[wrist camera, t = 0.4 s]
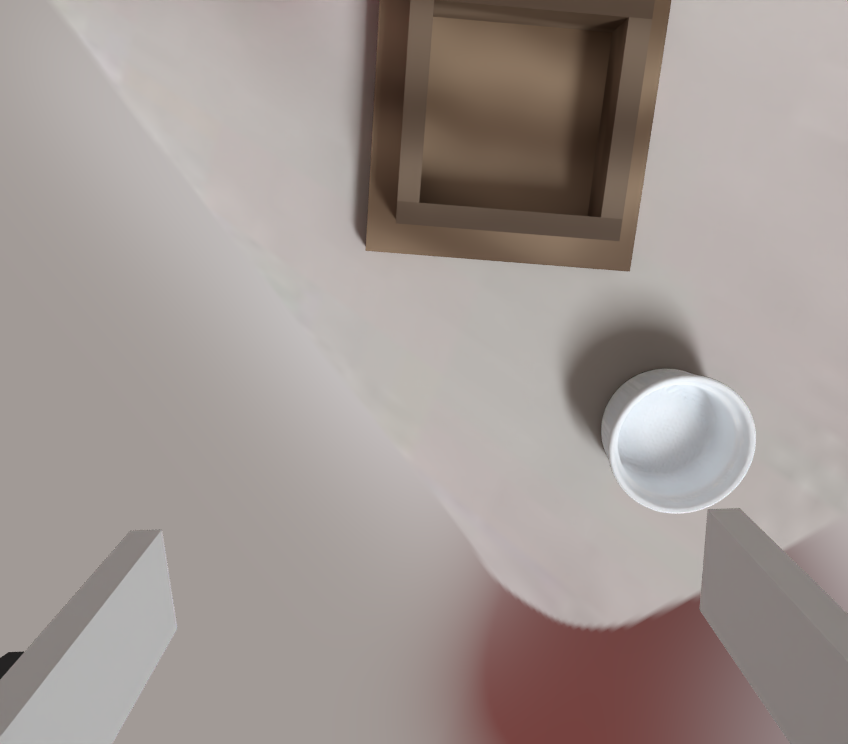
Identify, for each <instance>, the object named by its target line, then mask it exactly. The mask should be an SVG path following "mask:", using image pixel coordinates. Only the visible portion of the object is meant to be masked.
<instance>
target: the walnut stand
mask: <svg viewBox="0 0 848 744" xmlns="http://www.w3.org/2000/svg"><path fill="white" fill-rule="evenodd" d="M670 5H671V0H379V18H378V36H377V54H376V72H375V90H374V108H373V126H372V144H371V162H370V179H369V197H368V215H367V233H366V251H377V252H390V253H402V254H415V255H428V256H440V257H453V258H466V259H478V260H491V261H504V262H516V263H529V264H542V265H554V266H567V267H580V268H592V269H605V270H618V271H630V266H631V260H632V253H633V247H634V240H635V234H636V227H637V221H638V214H639V208H640V201H641V195H642V188H643V182H644V175H645V169H646V162H647V156H648V149H649V143H650V136H651V129H652V123H653V116H654V110H655V103H656V97H657V90H658V84H659V77H660V71H661V64H662V58H663V51H664V45H665V38H666V32H667V25H668V19H669V12H670Z"/></svg>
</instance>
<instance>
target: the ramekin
mask: <svg viewBox="0 0 848 744" xmlns="http://www.w3.org/2000/svg"><path fill="white" fill-rule="evenodd" d="M601 436H602V443H603V446H604V450H605V452H606V454H607V457H608V459H609V463H610V467H611V470H612V473H613V475H614V477H615V479H616V481H617V482H618V484H619V485H620V487H621V488H622V489H623V490H624V491H625V493H627V494H628V495H629V496H630V497H631V498H632V499H633V500H635V501H636V502H638V503H639V504H641V505H643V506H645V507H647V508H650V509H652V510H655V511H659V512H665V513H677V514H678V513H689V512H695V511H698V510H702V509H704V508H707V507H709V506H711V505H713V504H716V503H717V502H719V501H720V500H722V499H723V498H725V497H726V496H727V495H728V494H730V493H731V492H732V491H733V490H734V489H735V488H736V487H737V486H738V485H739V483H740V482H741V481H742V479H743V478H744V476H745V475H746V473H747V471H748V469H749V467H750V465H751V462H752V459H753V456H754V452H755V445H756V430H755V425H754V421H753V418H752V415H751V412H750V410H749V408H748V406H747V405H746V403H745V402H744V401H743V399H742V398H741V397H740V396H739V395H738V394H737V393H736V392H735V391H734V390H733V389H731V388H730V387H728V386H727V385H725V384H724V383H722V382H720V381H717V380H715V379H712V378H709V377H705V376H700V375H695V374H692V373H689V372H686V371H682V370H677V369H655V370H651V371H647V372H644V373H641V374H638V375H636V376H635V377H633V378H631V379H629V380H628V381H627V382H625V383H624V384H623V385H622V386H621V387H620V388H618V390H617V391H616V392H615V393H614V394H613V396H612V397H611V399H610V400H609V402H608V404H607V406H606V408H605V411H604V414H603V419H602V424H601Z"/></svg>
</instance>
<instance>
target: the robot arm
mask: <svg viewBox="0 0 848 744" xmlns="http://www.w3.org/2000/svg"><path fill="white" fill-rule="evenodd" d="M700 611H701V612H702V614H703V615H704V617H705V618H706V620H707V621H708V623H709V624H710V626H711V627H712V629H713V630H714V632H715V633H716V635H717V636H718V638H719V639H720V641H721V642H722V643H723V645H724V646H725V648H726V649H727V651H728V652H729V654H730V655H731V657H732V658H733V660H734V661H735V663H736V664H737V666H738V667H739V669H740V670H741V672H742V673H743V675H744V676H745V677H746V679H747V681H748V682H749V684H750V685H751V686H752V688H753V689H754V691H755V692H756V694H757V695H758V697H759V698H760V700H761V701H762V703H763V704H764V706H765V707H766V709H767V710H768V712H769V713H770V715H771V716H772V718H773V719H774V721H775V722H776V723H777V725H778V726H779V728H780V729H781V731H782V732H783V734H784V735H785V737H786V738H787V740H788V741H789V743H790V744H848V613H847V612H846V611H844V610H843V609H842V608H841V607H840V606H839V605H838V604H837V603H836V602H835V601H834V600H833V599H832V598H831V597H830V596H829V595H828V594H827V593H826V592H825V591H824V590H823V589H822V588H821V587H820V586H819V585H818V584H817V583H816V582H815V581H814V580H813V579H812V578H811V577H810V576H809V575H808V574H807V573H806V572H805V571H803V570H802V569H801V568H800V567H799V566H798V565H797V564H796V563H795V562H794V561H793V560H792V559H791V558H790V557H789V556H788V555H787V554H786V553H785V552H784V551H783V550H782V549H781V548H780V547H779V546H778V545H777V544H776V543H775V542H774V541H773V540H772V539H771V538H770V537H769V536H768V535H767V534H766V533H765V532H764V531H762V530H761V529H760V528H759V527H758V526H757V525H756V524H755V523H754V522H753V521H752V520H751V519H750V518H749V517H748V516H747V515H746V514H745V513H744V512H743V511H742V510H741V509H740V508H731V509H708V511H707V523H706V536H705V548H704V561H703V573H702V586H701V598H700ZM176 630H177V623H176V616H175V610H174V603H173V597H172V590H171V584H170V578H169V571H168V565H167V558H166V552H165V546H164V540H163V533H162V530H135V531H130V532H129V533H128V534H127V535H126V536H125V537H124V538H123V540H122V541H121V542H120V543H119V544H118V545H117V547H116V548H115V549H114V550H113V551H112V552H111V553H110V555H109V556H108V557H107V558H106V559H105V560H104V561H103V563H102V564H101V565H100V566H99V567H98V568H97V569H96V571H95V572H94V573H93V574H92V575H91V576H90V578H89V579H88V580H87V581H86V582H85V583H84V584H83V585H82V587H81V588H80V589H79V590H78V591H77V592H76V594H75V595H74V596H73V597H72V598H71V599H70V600H69V601H68V603H67V604H66V605H65V606H64V607H63V608H62V610H61V611H60V612H59V613H58V614H57V615H56V616H55V618H54V619H53V620H52V621H51V622H50V623H49V625H48V626H47V627H46V628H45V629H44V630H43V631H42V632H41V634H40V635H39V636H38V637H37V638H36V639H35V640H34V642H33V643H32V644H31V645H30V646H29V647H28V649H27V650H26V651H25V652H8V653H7V654H5V655H4V656H2V657H1V658H0V744H112V743H113V742H114V740H115V738H116V736H117V735H118V732H119V731H120V729H121V727H122V726H123V724H124V722H125V720H126V719H127V717H128V715H129V713H130V711H131V710H132V708H133V706H134V704H135V703H136V701H137V699H138V697H139V696H140V694H141V692H142V690H143V688H144V687H145V685H146V683H147V681H148V680H149V678H150V676H151V674H152V673H153V671H154V669H155V667H156V666H157V664H158V662H159V660H160V658H161V657H162V655H163V653H164V651H165V650H166V648H167V646H168V644H169V642H170V641H171V639H172V637H173V635H174V634H175V632H176Z"/></svg>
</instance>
